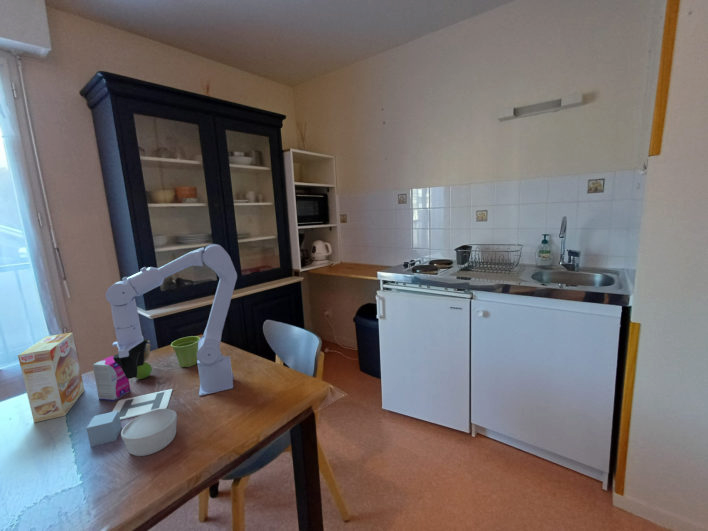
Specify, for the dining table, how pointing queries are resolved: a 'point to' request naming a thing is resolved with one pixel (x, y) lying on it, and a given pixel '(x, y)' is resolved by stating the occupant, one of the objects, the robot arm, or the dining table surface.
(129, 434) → the ramekin
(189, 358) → the plant pot
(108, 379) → the supplement box
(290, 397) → the dining table surface
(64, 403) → the coffeecake box
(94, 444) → the blue cube
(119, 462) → the dining table surface
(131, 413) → the letter sheet
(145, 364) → the snail figurine
